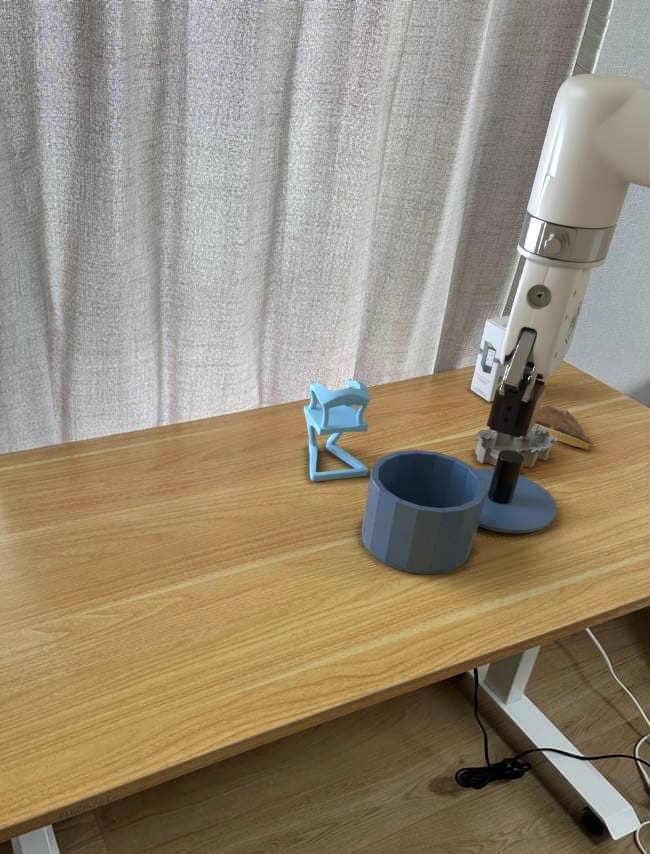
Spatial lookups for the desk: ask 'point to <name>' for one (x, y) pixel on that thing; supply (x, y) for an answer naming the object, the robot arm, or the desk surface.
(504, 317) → the ink box
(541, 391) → the block
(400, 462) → the tin
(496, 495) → the tin lid
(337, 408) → the chair
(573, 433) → the shard
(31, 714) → the desk surface
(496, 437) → the egg carton
